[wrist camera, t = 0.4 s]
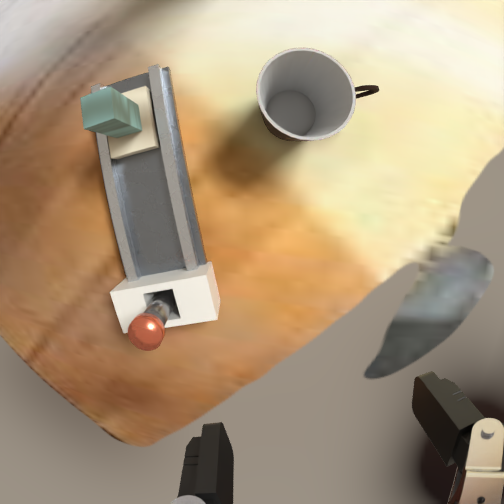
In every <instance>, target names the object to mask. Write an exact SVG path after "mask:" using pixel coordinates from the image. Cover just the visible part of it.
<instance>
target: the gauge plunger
mask: <svg viewBox="0 0 504 504" xmlns="http://www.w3.org/2000/svg"><path fill="white" fill-rule="evenodd" d="M175 304H176V299H175V296H174V292H173V290H171V289H168V290H163V291H158V293H157V294H156V295H155V297H154V298H153V300H152V301H151V302H150V304H149V305H148V307H147V308H146V310H145V311H144V312H143V313H141V314H139V315H137V316H136V317H135V318H134V319H133V320H132V322H131V323H130V325H129V327H128V337H129V339H130V341H131V342H132V343H133V344H134V345H135V346H136V347H137V348H139V349H142V350H146V351H151V350H154V349H156V348H158V347H159V346H160V344H161V342H162V340H163V338H164V335H165V327H164V326H165V324H166V322H167V320H168V318H169V316H170V314H171V312H172V310H173V308H174V306H175Z"/></svg>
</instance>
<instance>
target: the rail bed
mask: <svg viewBox="0 0 504 504" xmlns="http://www.w3.org/2000/svg"><path fill="white" fill-rule="evenodd" d="M148 70H149V72H148V73H144V74H141V75H138V76H135V77H132V78H128V79H125V80H122V81H119V82H116V83H114V84H111V85H108V86H104V85H102V84H100V83H99V84H97V85H94V86H91V94H92V93H94V92H97V91H99V90H102V89H105V88H108V87H112V88H113V89H115V90H117V91H118V92H120V93H124V92H127V91H130V90H133V89H137V88H140V87H143V86H146V87H147V88H148V89H150V90H151V97H152V104H153V110H154V116H155V122H156V128H157V134H158V140H159V145H160V148H156V149H152V150H149V151H145V152H141V153H138V154H134V155H131V156H127V157H124V158H120V159H112V158H111V155H110V149H109V143H108V136H107V135H104V134H100V133H97V132H96V138H97V145H98V151H99V157H100V163H101V169H102V174H103V180H104V185H105V190H106V195H107V200H108V205H109V209H110V214H111V218H112V223H113V227H114V231H115V235H116V239H117V244H118V247H119V251H120V255H121V259H122V263H123V266H124V270H125V274H126V277H127V279H128V282H132V281H138V280H139V279H140V278H141V277H142V276H147V275H152V274H157V273H163V272H168V271H173V270H179V269H184V268H187V271H192V270H197V269H198V268H199V266H200V265H205V264H207V259H206V254H205V250H204V245H203V241H202V236H201V232H200V227H199V222H198V218H197V213H196V208H195V203H194V199H193V194H192V189H191V184H190V179H189V174H188V168H187V163H186V158H185V153H184V147H183V142H182V137H181V131H180V126H179V120H178V114H177V108H176V103H175V97H174V91H173V85H172V78H171V72H170V69H169V67H166V68H161V67H160V66H159V64H157V65H154V66H150V67H148ZM171 290H173V289H171ZM157 293H158V291H157Z"/></svg>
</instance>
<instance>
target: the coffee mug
mask: <svg viewBox="0 0 504 504" xmlns="http://www.w3.org/2000/svg"><path fill="white" fill-rule="evenodd" d="M365 90H369V91H366V92H363V93H360V94H356V93H355V92H357V91H365ZM378 91H379V87H378V86H375V85H365V86H359V87H355V88H354V84H353V82H352V79H351V77H350V75H349V74H348V72H347V71H346V69H345V68H344V67H343V66H342V65H341V64H340V63H339V62H338V61H337V60H336V59H334V58H333V57H332V56H330V55H328V54H326V53H324V52H322V51H318V50H315V49H310V48H293V49H288V50H285V51H282V52H280V53H278V54H276V55H275V56H274V57H272V58H271V59H270V60H269V61H268V62H267V63H266V64H265V65H264V66H263V68H262V70H261V72H260V74H259V77H258V80H257V88H256V93H257V100H258V104H259V107H260V110H261V113H262V116H263V120H264V122H265V125H266V126H267V128H268V130H269V131H270V132H271V133H272V134H274V135H275V136H276V137H278V138H280V139H283V140H287V141H312V140H321V139H325V138H328V137H331V136H333V135H335V134H336V133H338V132H339V131H341V130H342V129H343V128H344V127H345V126H346V125H347V123H348V122H349V121H350V119H351V117H352V115H353V113H354V109H355V104H356V98H360V97H364V96H368V95H371V94H374V93H376V92H378Z"/></svg>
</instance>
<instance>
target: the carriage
mask: <svg viewBox="0 0 504 504" xmlns="http://www.w3.org/2000/svg"><path fill="white" fill-rule="evenodd" d="M80 99H81V109H82V117H83V126H84V129H86V130H89V131H93V132H97V133H100V134H104V135H107V136H108V143H109V149H110V155H111V158H112V159H120V158H124V157H127V156H131V155H134V154H138V153H141V152H145V151H149V150H152V149H156V148H160V145H159V140H158V134H157V128H156V122H155V116H154V110H153V104H152V97H151V90H150V89H148V88H147V87H146V86H143V87H140V88H137V89H133V90H130V91H127V92H124V93H120V92H118V91H117V90H115V89H113V88H112V87H108V88H105V89H102V90H99V91H97V92H94V93H92V94H89V95H86V96H84V97H81V98H80Z"/></svg>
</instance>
